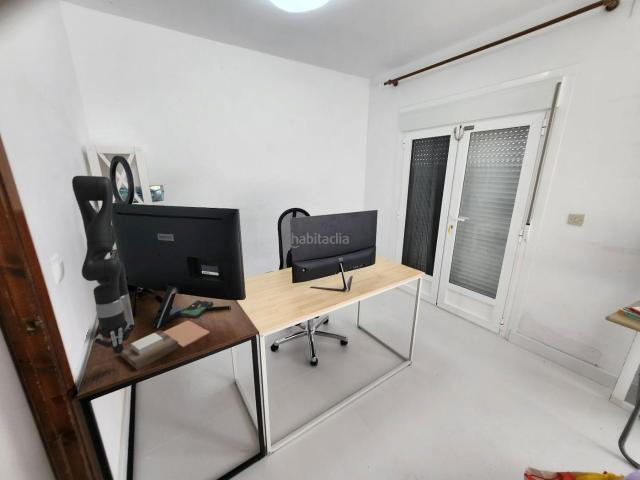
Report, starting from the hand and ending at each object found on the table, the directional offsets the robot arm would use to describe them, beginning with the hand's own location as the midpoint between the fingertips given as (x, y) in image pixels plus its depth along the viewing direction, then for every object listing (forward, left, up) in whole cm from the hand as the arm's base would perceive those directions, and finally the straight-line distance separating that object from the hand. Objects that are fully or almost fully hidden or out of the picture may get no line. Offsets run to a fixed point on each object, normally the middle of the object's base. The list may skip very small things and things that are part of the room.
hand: (118, 352), depth 97 cm
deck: (0, +11, -6) cm, 12 cm away
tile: (0, +10, -3) cm, 11 cm away
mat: (0, +26, -6) cm, 27 cm away
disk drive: (-15, +42, -7) cm, 45 cm away
